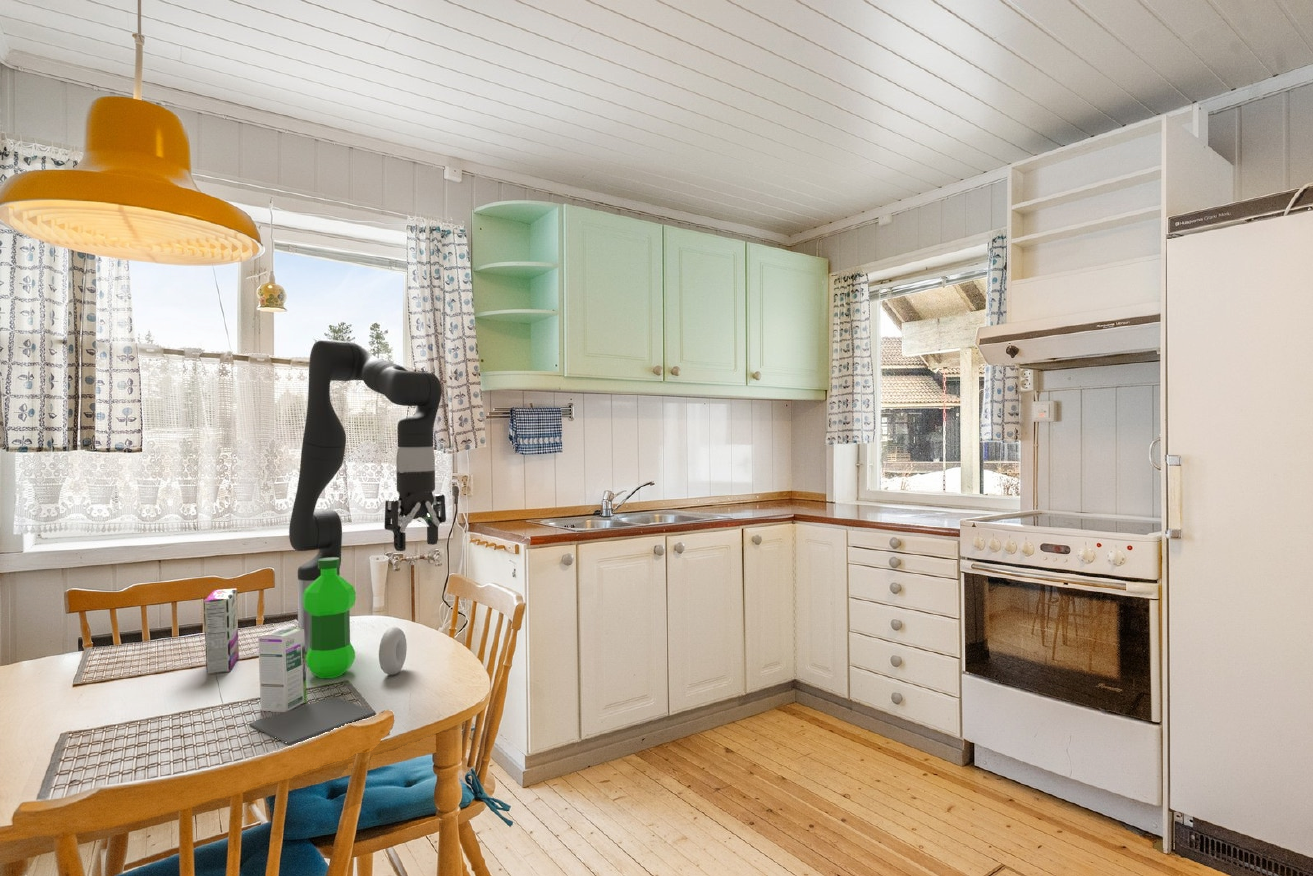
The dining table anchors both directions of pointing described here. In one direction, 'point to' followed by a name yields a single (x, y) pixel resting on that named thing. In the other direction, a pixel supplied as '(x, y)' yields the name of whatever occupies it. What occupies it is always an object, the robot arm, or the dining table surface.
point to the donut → (392, 651)
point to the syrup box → (282, 669)
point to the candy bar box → (221, 631)
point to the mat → (311, 719)
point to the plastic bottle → (329, 621)
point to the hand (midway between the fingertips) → (416, 547)
